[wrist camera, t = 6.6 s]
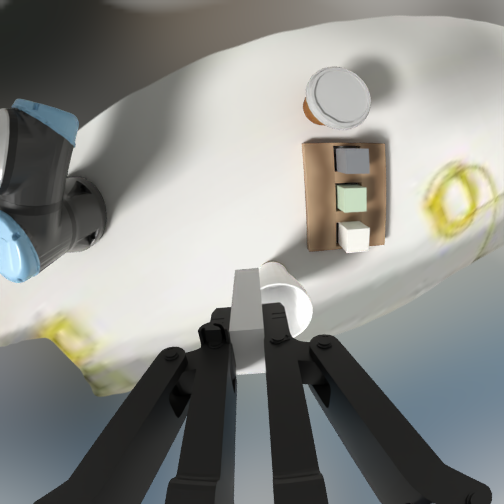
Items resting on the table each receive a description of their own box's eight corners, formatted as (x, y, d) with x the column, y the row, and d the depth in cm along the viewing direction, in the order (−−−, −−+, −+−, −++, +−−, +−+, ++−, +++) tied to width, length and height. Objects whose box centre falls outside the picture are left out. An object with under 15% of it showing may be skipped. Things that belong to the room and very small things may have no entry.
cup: (233, 269, 53) (228, 306, 40) (280, 239, 51) (291, 269, 38) (263, 308, 56) (267, 351, 43) (308, 282, 54) (324, 320, 41)
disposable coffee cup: (282, 98, 42) (293, 82, 31) (327, 74, 41) (349, 54, 29) (313, 143, 45) (333, 141, 34) (355, 119, 43) (385, 111, 32)
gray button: (337, 171, 45) (346, 174, 40) (335, 148, 44) (345, 148, 39) (358, 171, 45) (369, 173, 40) (357, 148, 44) (368, 148, 39)
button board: (307, 248, 52) (309, 251, 50) (301, 143, 45) (304, 143, 43) (380, 241, 51) (384, 244, 49) (380, 143, 45) (384, 143, 43)
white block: (338, 243, 49) (347, 253, 45) (338, 222, 48) (347, 229, 43) (358, 241, 49) (368, 250, 45) (359, 220, 48) (369, 228, 43)
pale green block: (335, 206, 49) (344, 212, 44) (335, 184, 47) (344, 188, 43) (356, 205, 49) (366, 211, 44) (355, 184, 47) (366, 187, 43)
